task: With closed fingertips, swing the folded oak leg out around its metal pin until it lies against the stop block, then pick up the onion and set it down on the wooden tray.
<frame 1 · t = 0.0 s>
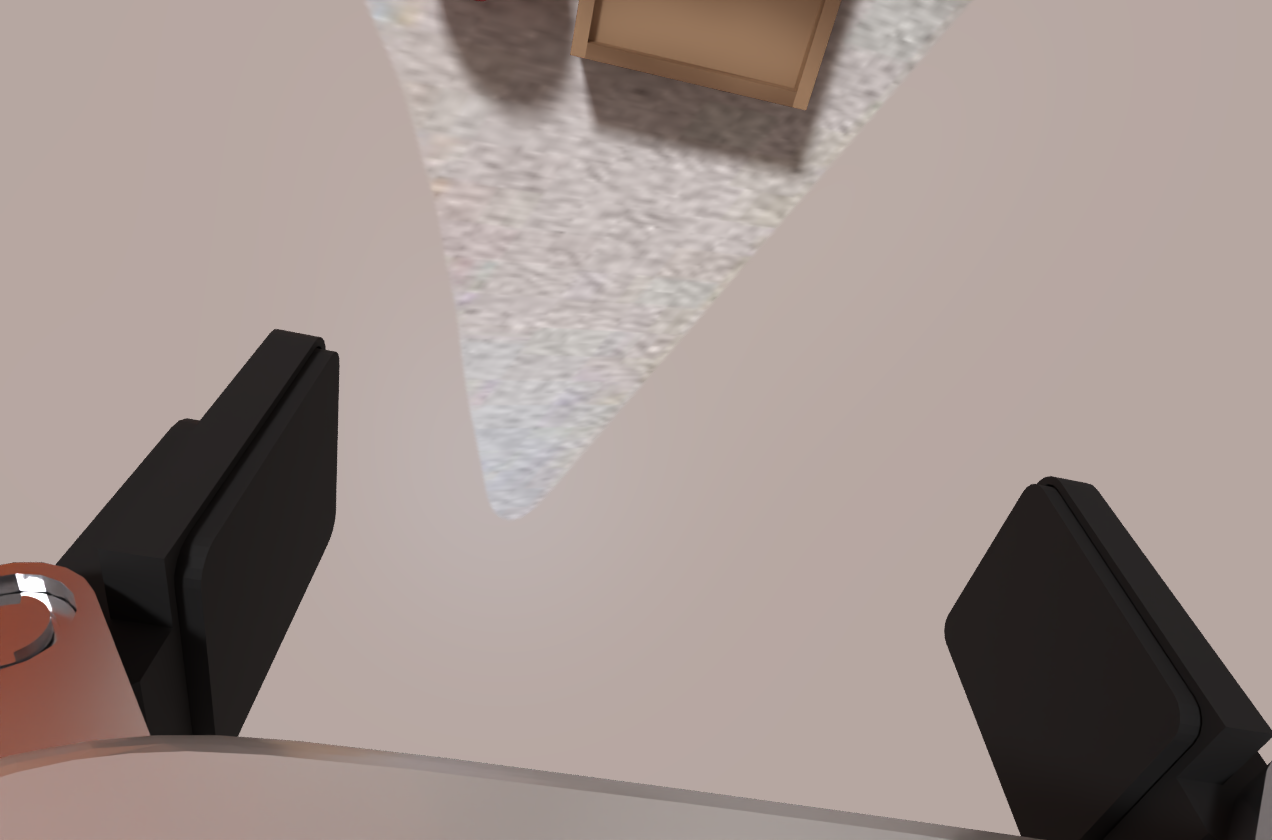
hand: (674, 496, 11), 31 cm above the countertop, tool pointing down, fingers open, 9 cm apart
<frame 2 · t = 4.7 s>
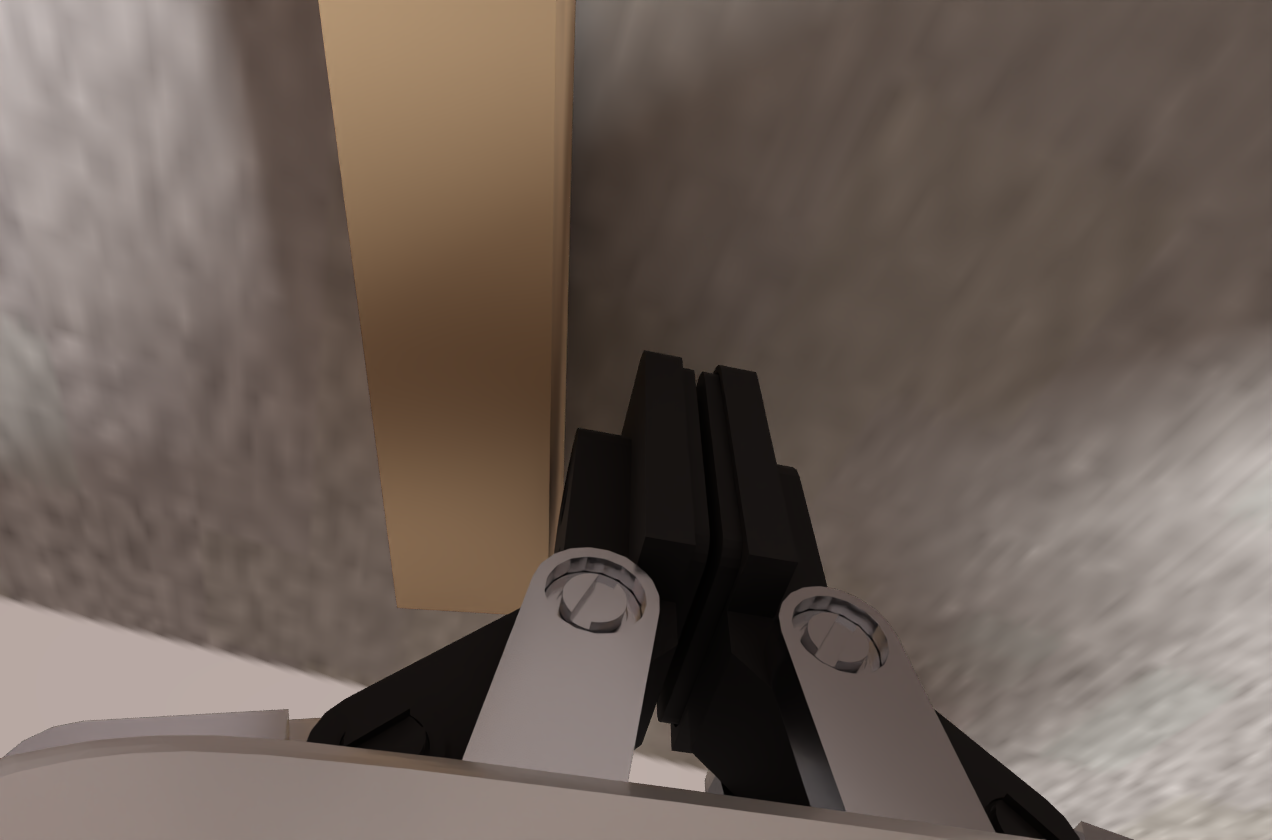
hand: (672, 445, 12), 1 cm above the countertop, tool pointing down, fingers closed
leg: (469, 155, 10), point 2 cm above the countertop, hinge at 83.2°, touching gripper
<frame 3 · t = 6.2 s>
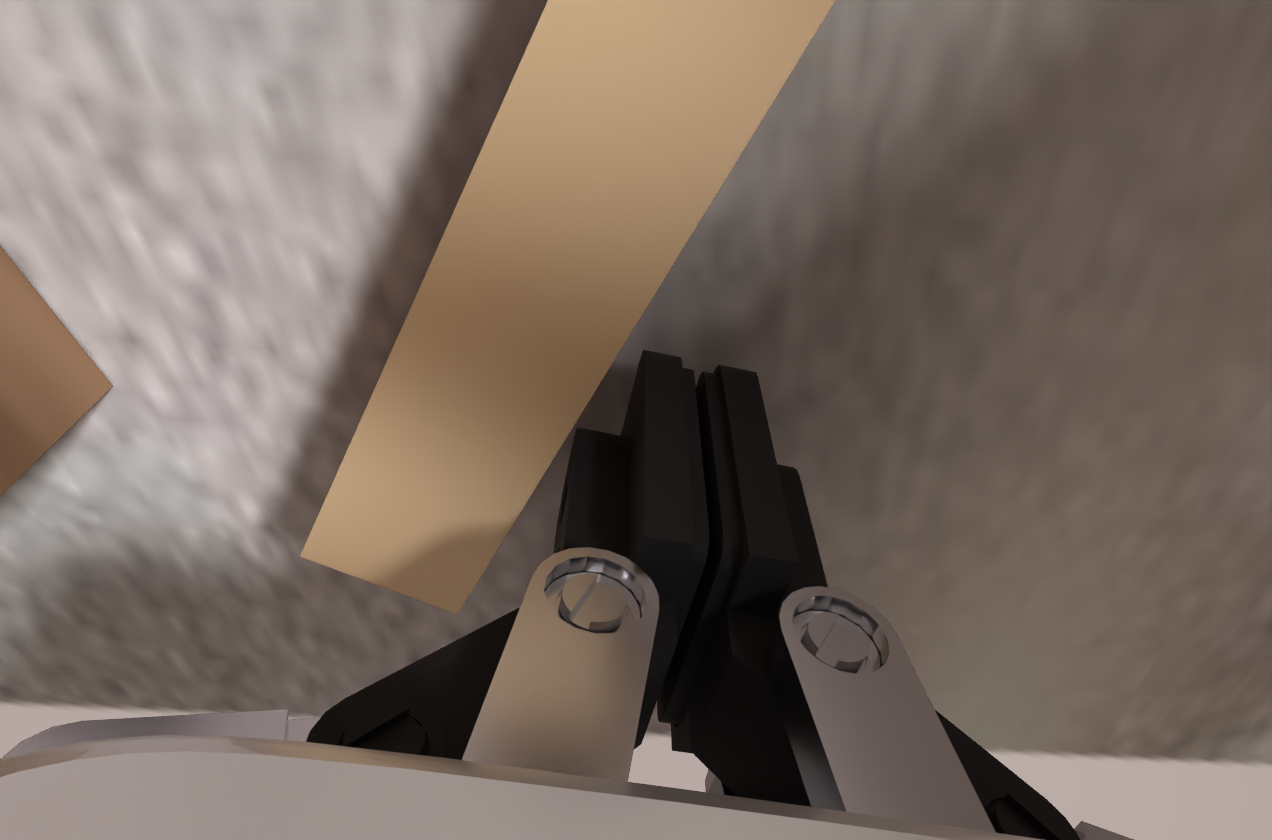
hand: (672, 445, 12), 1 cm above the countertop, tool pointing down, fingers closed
leg: (603, 139, 9), point 2 cm above the countertop, hinge at 41.9°, touching gripper
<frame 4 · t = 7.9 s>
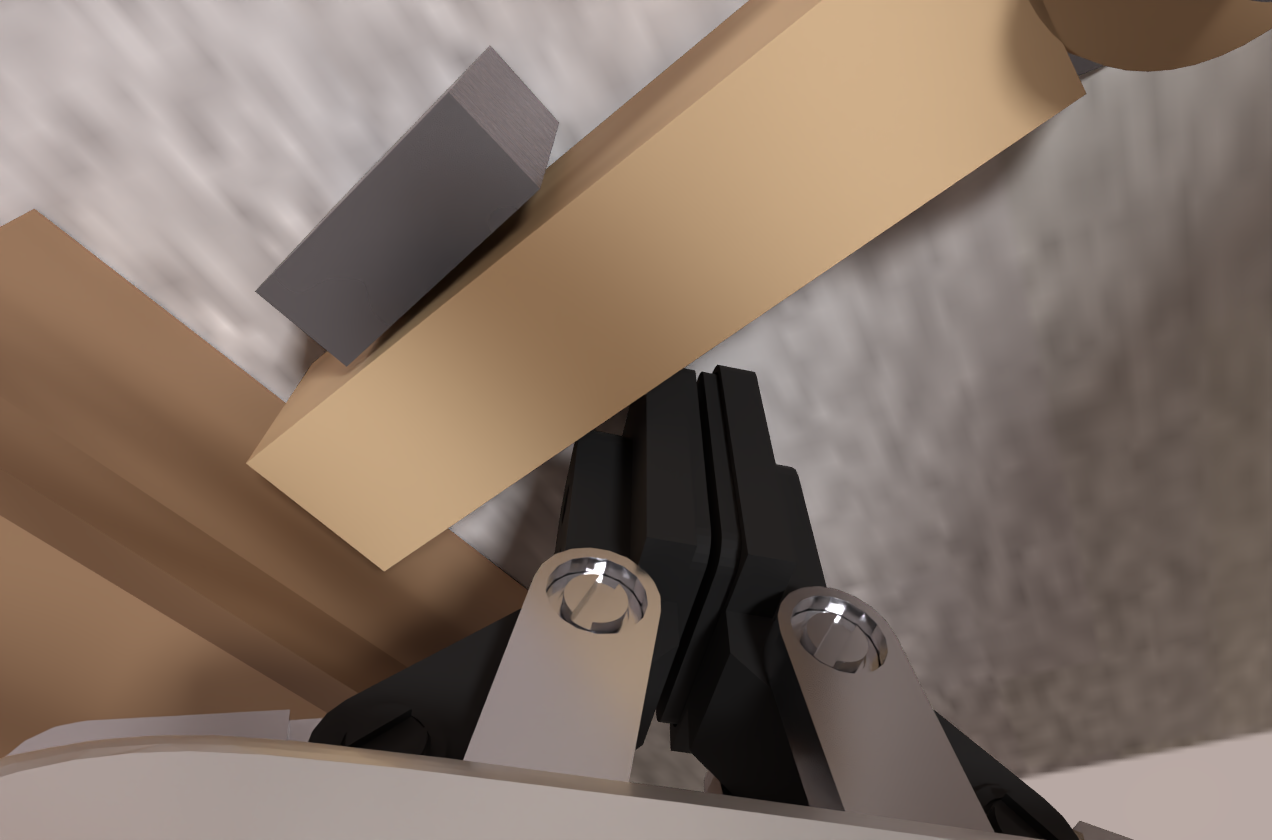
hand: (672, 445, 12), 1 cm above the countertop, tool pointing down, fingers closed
wooden tray: (160, 597, 15), on the countertop
leg: (723, 176, 9), point 2 cm above the countertop, hinge at -3.0°, touching gripper
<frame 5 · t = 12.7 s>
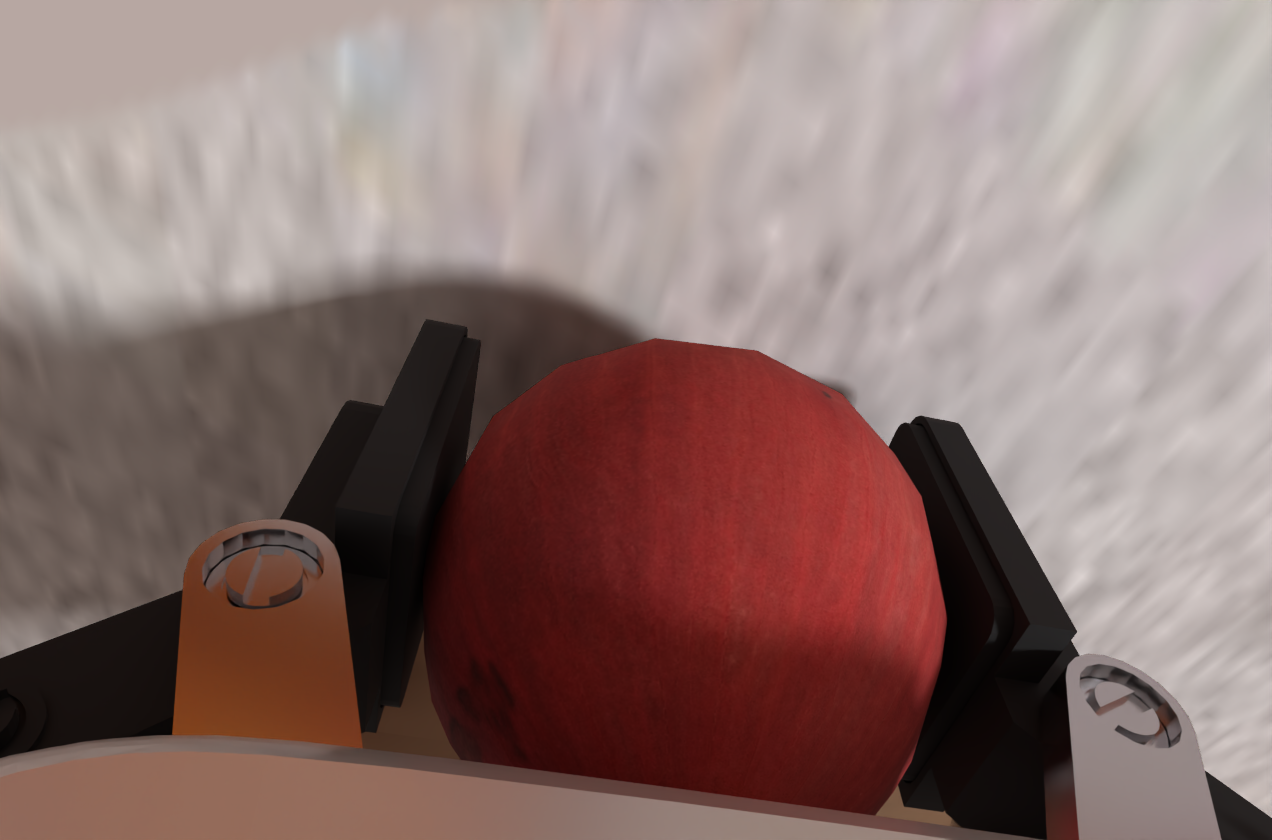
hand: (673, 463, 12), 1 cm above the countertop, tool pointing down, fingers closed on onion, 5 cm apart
wooden tray: (611, 781, 18), on the countertop
onion: (668, 409, 13), on the countertop, touching gripper
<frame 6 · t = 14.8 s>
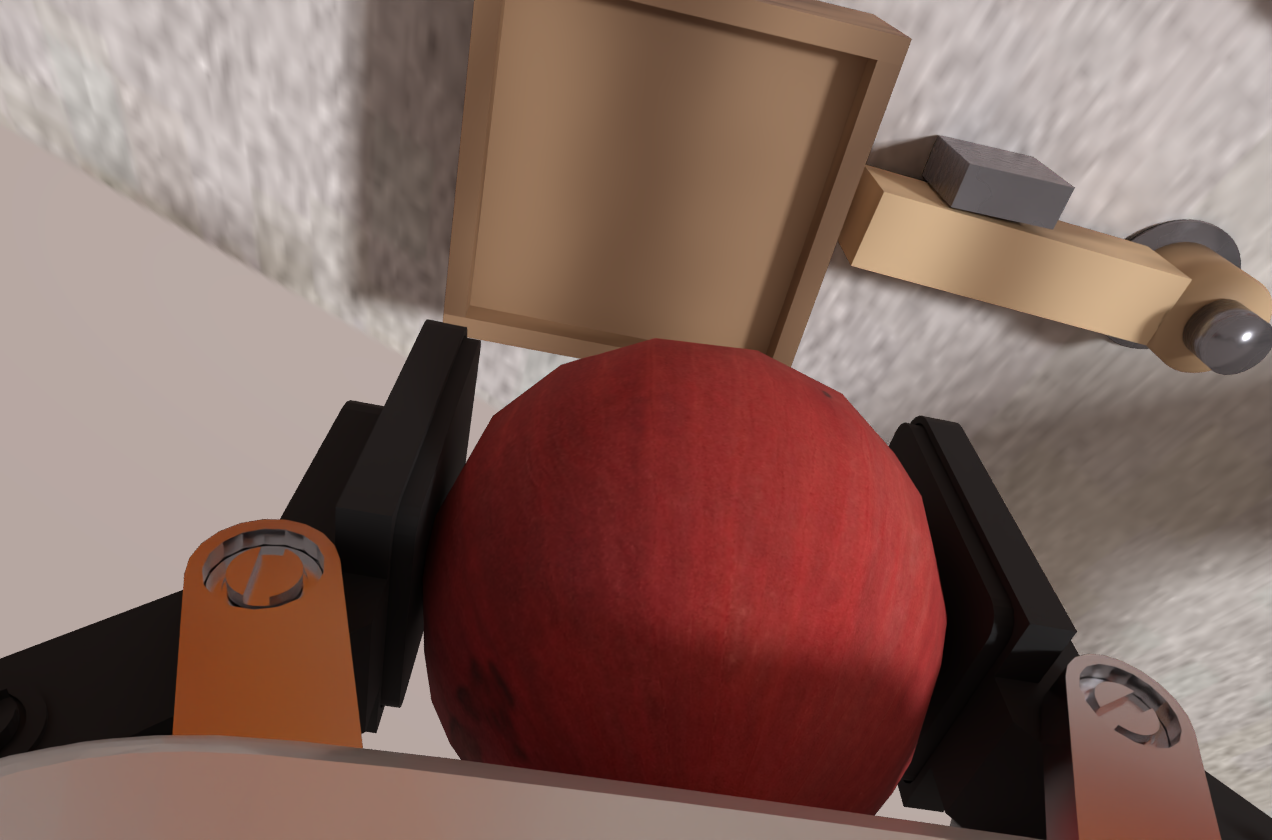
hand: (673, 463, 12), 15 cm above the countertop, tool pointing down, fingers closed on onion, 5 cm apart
wooden tray: (651, 157, 25), on the countertop
onion: (668, 409, 13), point 14 cm above the countertop, touching gripper
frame: (1163, 285, 27), on the countertop
leg: (1052, 268, 25), point 2 cm above the countertop, hinge at -3.2°
when the fingers open (6 cm above the countertop, at t = 17.0 s): onion drops 1 cm, resting on wooden tray.
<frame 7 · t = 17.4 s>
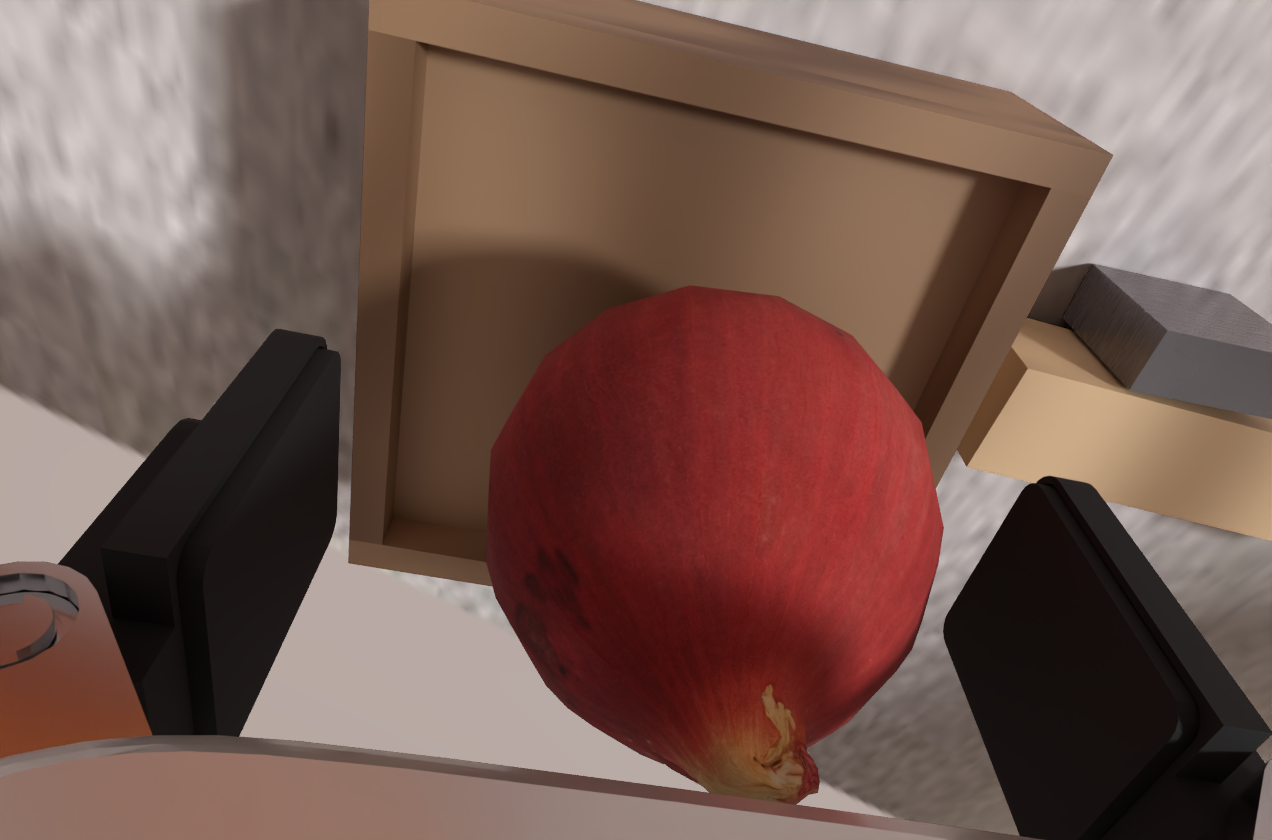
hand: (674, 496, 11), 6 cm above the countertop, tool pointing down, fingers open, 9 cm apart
wooden tray: (665, 291, 17), on the countertop
onion: (691, 364, 14), point 3 cm above the countertop, touching wooden tray
leg: (1255, 456, 17), point 2 cm above the countertop, hinge at -3.2°
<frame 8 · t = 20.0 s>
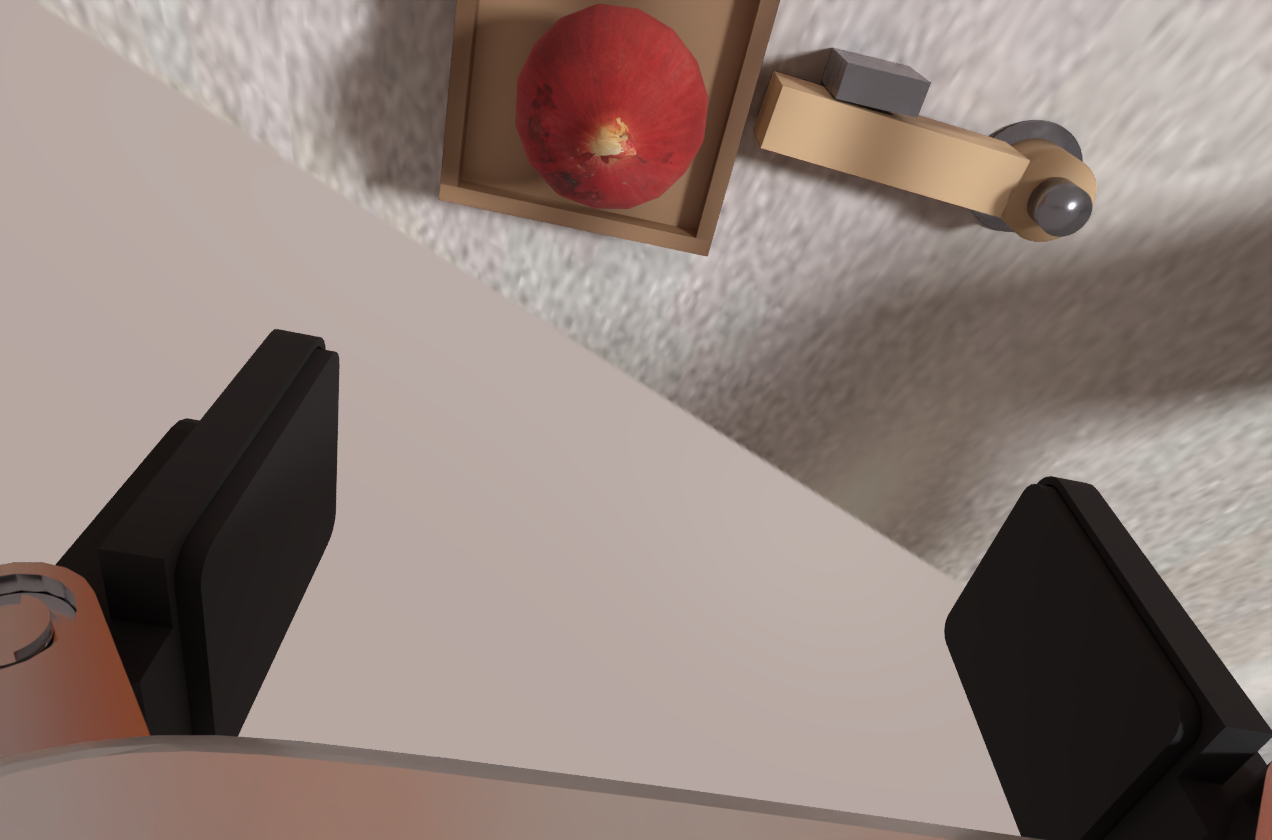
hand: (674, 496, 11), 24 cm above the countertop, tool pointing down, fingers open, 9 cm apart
wooden tray: (606, 65, 31), on the countertop
onion: (614, 83, 29), point 3 cm above the countertop, touching wooden tray
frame: (1022, 177, 33), on the countertop
leg: (925, 156, 31), point 2 cm above the countertop, hinge at -3.2°
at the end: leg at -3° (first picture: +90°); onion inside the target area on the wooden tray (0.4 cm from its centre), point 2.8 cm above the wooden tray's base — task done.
